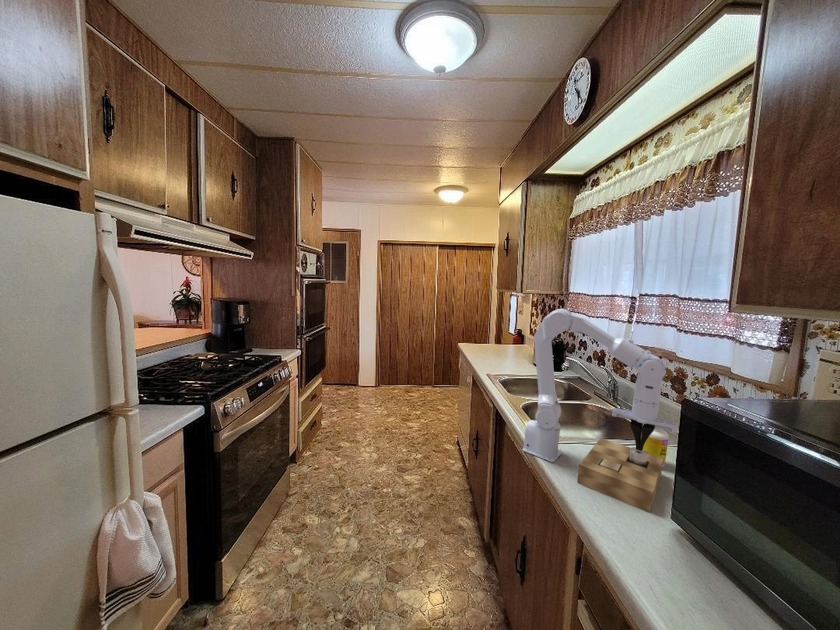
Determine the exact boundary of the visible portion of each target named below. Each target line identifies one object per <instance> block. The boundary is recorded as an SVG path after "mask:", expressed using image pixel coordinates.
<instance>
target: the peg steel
mask: <svg viewBox="0 0 840 630" xmlns="http://www.w3.org/2000/svg"><path fill="white" fill-rule="evenodd" d="M647 457H648V452H647V451H645V450H642V451H639V450H636V446H632V447H630V455H629V463H632V464H635V465H638V466H641V467H644V468H646V464H647Z"/></svg>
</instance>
